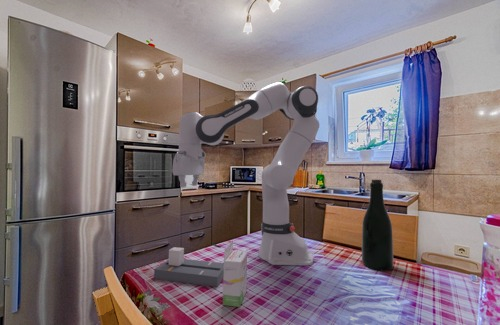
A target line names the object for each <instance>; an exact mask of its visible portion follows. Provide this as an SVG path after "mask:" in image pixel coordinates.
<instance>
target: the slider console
mask: <svg viewBox="0 0 500 325" xmlns="http://www.w3.org/2000/svg"><path fill="white" fill-rule="evenodd" d="M153 272H154V273H153V279H155V280H160V281H161V280H162V281H163V280H164V281H168V282H176V283H183V284H185V283H186V284H192V285H199V286H207V287H215V288H218V286H219V285H220V284H221V282H222V281H223V276H224V262H215V261H207V260H198V259H197V260H196V259H187V258H184V263H182V264H181V265H180V266H174V265H169V259H167V260H166V261H164V262H163V263H161V264H160V265H159V266H157V267H156V268H154V270H153Z"/></svg>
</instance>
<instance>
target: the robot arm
mask: <svg viewBox="0 0 500 325" xmlns="http://www.w3.org/2000/svg"><path fill="white" fill-rule="evenodd" d="M318 103H319V94H318V92H317V90H316V89H315V88H314V87H312V86H309V85H302V86H300V87H298V88H297V89H295V90H294V91H291V90H289V88H288V87H287V86H286V85H285V84H284V83H282V82H279V81H278V82H277V81H276V82H275V83H272V84H268V85H266V86H264V87H262V88H261V89H258V90H256V91H255V92H253V93H252V94H251V95H249V96H248V97H247V98H245V99H243V100H242V101H241V102H239V103H237V104H235V105H233V106H231V107H230V108H227V109H226V110H223V111H221V112H219V113H216V114H207V115H204V116H203V115H201V114H200V113H199V112H195V111H192V112H185V113H184V114H182V115H181V118H180V121H179V127H178V128H179V131H178V132H179V133H178V134H179V138H180V139H179V142H178V150H177V151H176V153H175V156H174V158H173V160H172V169H171V170H172V175H173V176H178V180H179V186H180V188H186V187H187V182H186V177H187V176H192V177H193V179H192V181H191V186H193V187H195V186H198V181H199V179H200V175H201V176H202V175H204V173H205V159H206V152H205V151H204V150H203V149H202V144H205V145H209V146H216V145H217V146H218V145H219V144H220V143H222V142H223V140H224V137H225V132H226V131H228V130H229V129H230V128H232V127H233V126H236V125H237V124H240V123H241V122H243V121H245V120H247V119H250V120H251V119H252V120H255V121H256V120H257V121H259V120H261V119H263V118H266V117H268V116H269V115H271V114H273V113H275V112H276V111H278V110H279V111H280V112H281V114H283V116H284V117H285V118H287V119H289V120H291V121H293V124H292V127H291V128H290V130H288V132H287V134H286V135H285V137H284V138H283V140H282V142H281V143H280V145H279V147H278V149H277V151H276V154H275V155H274V157H273V159H272V161H271V162H270V164H268V165H266V166H265V167H264V168H263V170H262V172H261V192H262V194H261V195H262V196H261V197H262V221H261V227H260V230H261V233H260V234H261V242H260V246H259V252H258V257H259V258H260V259H261V260H263V261H266V262H268V263H269V264H270V265H271V266H272V265H273V266H311V265H312V264H314V256H313V253H312V252H310V250H308V245H307V243H306V241H305V240H304V238H302V237H301V236H299V235H298V234H297V233H296V232H295V230H296V228H295V225H294V223H292V222H290V201H289V198H288V190H287V188H289V187H291V185H292V184H293V183H294V179H295V176H296V175H297V172H298V170H299V167H300V165H301V163H302V160H303V159H304V157H305V155H306V154H307V152H308V151H309V149H310V147H311V145H312V144H313V142H314V140H315V139H316V137H317V134H318V133H319V132H318V131H319V128H320V122H319V120H318V119H317V118H316V117H315V116H314V115H316V113H317V110H318Z"/></svg>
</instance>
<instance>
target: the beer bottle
mask: <svg viewBox="0 0 500 325" xmlns="http://www.w3.org/2000/svg"><path fill="white" fill-rule="evenodd" d="M369 187H370V188H369V189H370V193H369V194H370V195H369V202H368V206H367V209H366V210H365V213H364V216H363V220H362V225H361V226H362V228H361V230H362V231H361V236H362V237H361V263H362V264H363V265H364V266H366V267H367V266H368V268H369V267H370V268H369V269H372V268H373V270H376V271H381V270H383V271H386V270H388V271H391V270H393V268H394V243H393V242H394V239H393V238H394V236H393V225H392V220H391V218H390V216H389V213H388V211H387V209H386V206H385V200H384V183H383V182H382V180H381V179H377V178H376V179H371V182H370V184H369ZM383 271H382V272H383Z"/></svg>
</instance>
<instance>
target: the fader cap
mask: <svg viewBox="0 0 500 325" xmlns="http://www.w3.org/2000/svg"><path fill="white" fill-rule="evenodd" d="M184 259H185V248H184V247H179V246H178V247H175V246H173V247H172V248H169V249H168V260H169V265H174V266H180V265H181V264H182V263H184Z"/></svg>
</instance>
